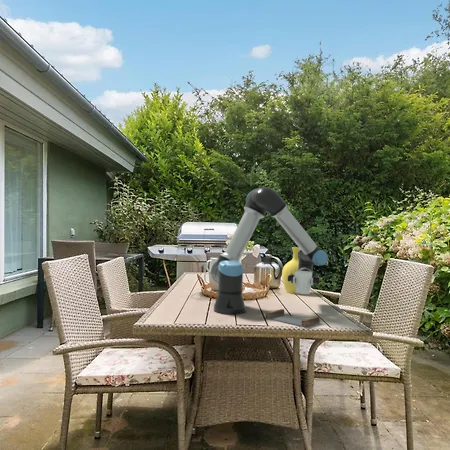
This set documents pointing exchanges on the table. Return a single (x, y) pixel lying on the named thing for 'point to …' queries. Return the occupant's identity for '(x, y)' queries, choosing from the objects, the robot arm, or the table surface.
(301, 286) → the white cup
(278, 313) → the mat rails
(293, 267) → the vase
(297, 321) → the drying mat
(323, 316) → the table surface
